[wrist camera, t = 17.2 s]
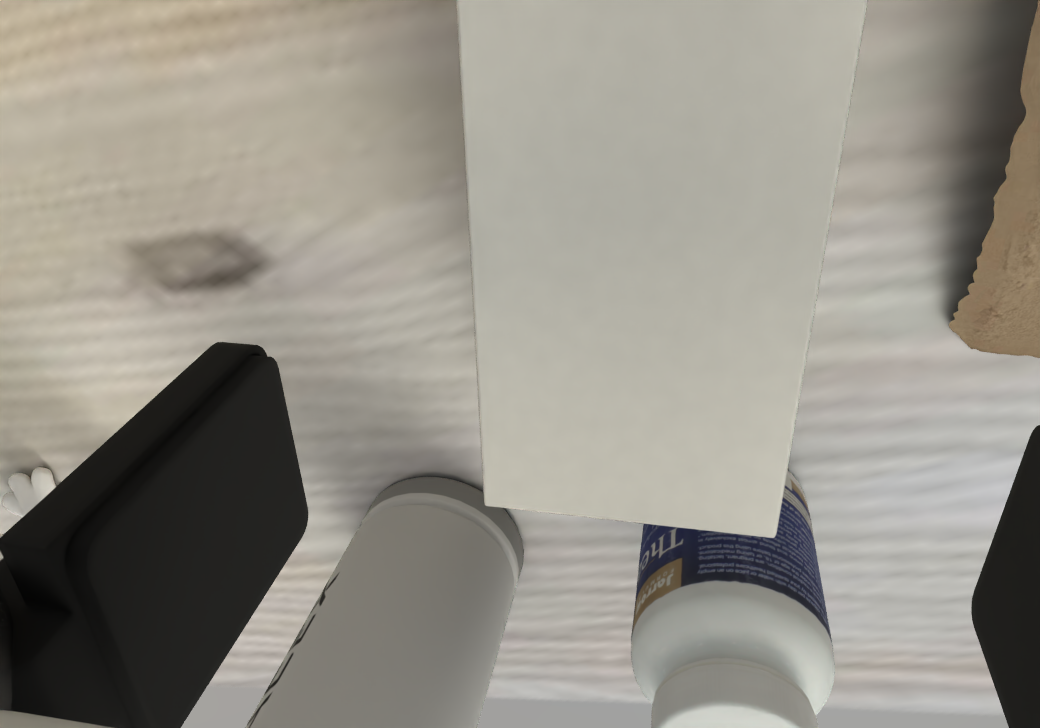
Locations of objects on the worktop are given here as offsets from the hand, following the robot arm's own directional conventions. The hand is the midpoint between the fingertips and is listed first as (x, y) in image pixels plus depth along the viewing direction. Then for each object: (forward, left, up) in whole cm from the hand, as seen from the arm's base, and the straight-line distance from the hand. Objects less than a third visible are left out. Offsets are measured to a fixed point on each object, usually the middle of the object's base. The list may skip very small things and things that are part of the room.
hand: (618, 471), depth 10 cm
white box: (+1, 0, -9) cm, 9 cm away
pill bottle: (+12, +3, -15) cm, 19 cm away
